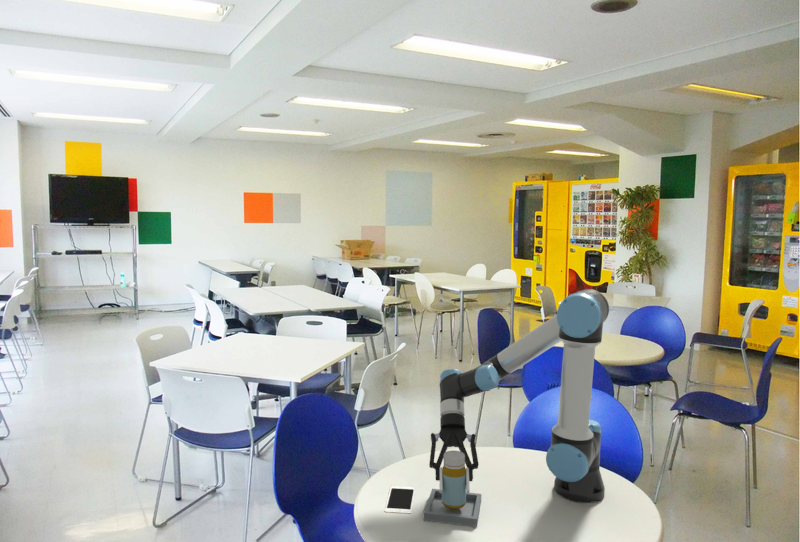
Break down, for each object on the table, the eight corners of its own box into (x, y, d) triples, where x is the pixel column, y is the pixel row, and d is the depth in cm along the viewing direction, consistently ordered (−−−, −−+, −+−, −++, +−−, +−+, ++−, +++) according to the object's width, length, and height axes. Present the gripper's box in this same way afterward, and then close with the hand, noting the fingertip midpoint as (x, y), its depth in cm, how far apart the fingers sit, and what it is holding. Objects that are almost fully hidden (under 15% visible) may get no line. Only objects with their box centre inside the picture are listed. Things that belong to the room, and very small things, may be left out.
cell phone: (384, 513, 169) (384, 511, 169) (390, 487, 185) (390, 486, 185) (411, 515, 169) (411, 513, 169) (415, 489, 185) (415, 487, 184)
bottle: (466, 510, 167) (467, 459, 165) (442, 510, 167) (442, 459, 165) (464, 498, 174) (465, 449, 172) (441, 498, 174) (441, 449, 172)
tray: (481, 501, 176) (481, 493, 176) (476, 527, 161) (477, 519, 161) (432, 496, 179) (432, 488, 179) (423, 520, 165) (423, 512, 164)
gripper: (483, 422, 183) (488, 497, 169) (420, 421, 184) (419, 495, 169) (485, 412, 177) (490, 488, 163) (420, 411, 178) (419, 486, 164)
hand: (454, 491), depth 166 cm, fingers closed on bottle, 7 cm apart
